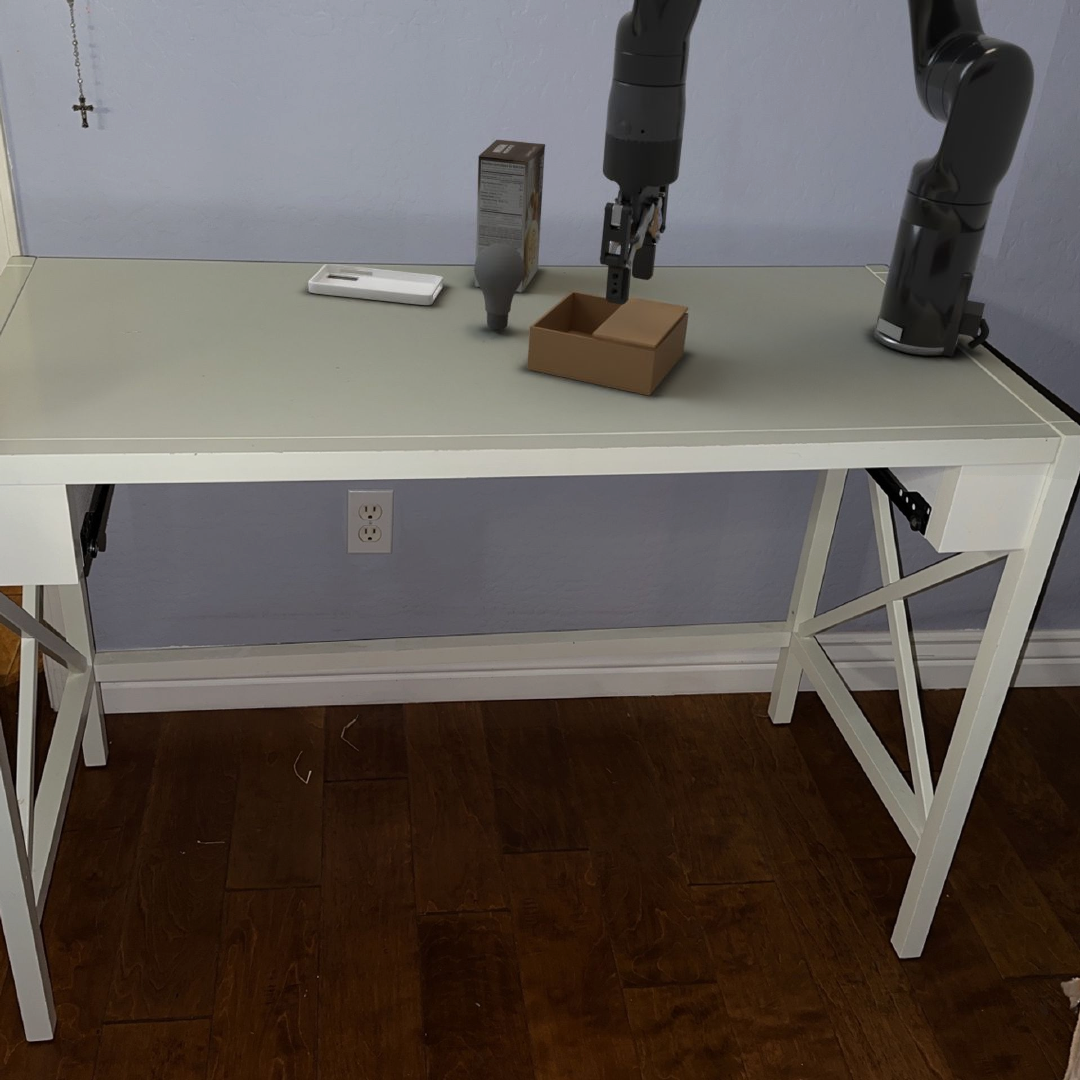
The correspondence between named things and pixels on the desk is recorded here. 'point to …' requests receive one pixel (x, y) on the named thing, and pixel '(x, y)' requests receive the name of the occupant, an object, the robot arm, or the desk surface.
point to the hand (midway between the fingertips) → (629, 289)
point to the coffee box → (511, 200)
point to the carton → (599, 347)
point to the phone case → (377, 285)
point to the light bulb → (498, 281)
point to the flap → (641, 322)
